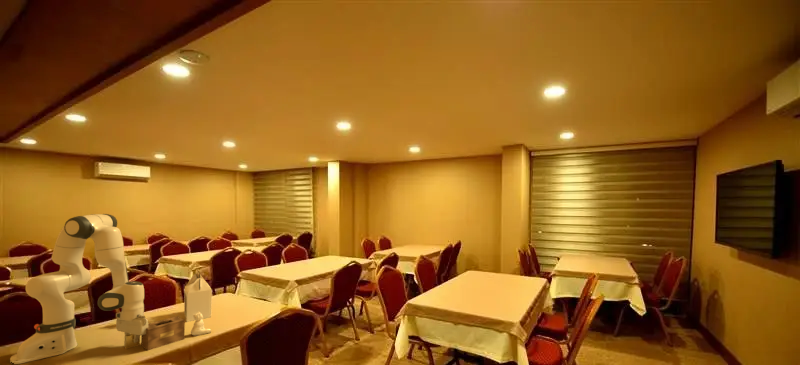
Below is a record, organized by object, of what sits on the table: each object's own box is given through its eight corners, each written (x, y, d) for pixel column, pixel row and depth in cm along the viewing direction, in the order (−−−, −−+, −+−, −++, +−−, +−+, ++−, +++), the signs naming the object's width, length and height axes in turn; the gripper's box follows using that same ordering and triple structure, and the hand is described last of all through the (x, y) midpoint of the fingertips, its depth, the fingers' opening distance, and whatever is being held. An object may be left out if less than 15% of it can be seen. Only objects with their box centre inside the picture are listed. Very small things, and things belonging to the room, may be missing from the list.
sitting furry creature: (212, 332, 183) (212, 310, 184) (196, 338, 176) (196, 315, 176) (203, 329, 188) (203, 308, 189) (186, 334, 180) (187, 312, 181)
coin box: (148, 350, 162) (148, 329, 162) (141, 345, 168) (141, 325, 168) (184, 339, 175) (184, 320, 175) (176, 334, 181) (177, 316, 181)
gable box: (184, 312, 218) (185, 270, 219) (207, 308, 226) (207, 267, 227) (186, 322, 200) (187, 275, 202) (211, 317, 208) (212, 272, 210)
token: (126, 349, 164) (126, 336, 164) (124, 347, 166) (124, 335, 166) (139, 345, 168) (139, 333, 169) (137, 343, 170) (138, 331, 171)
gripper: (152, 314, 167) (151, 341, 166) (127, 309, 175) (126, 336, 174) (139, 318, 161) (138, 347, 160) (113, 313, 169) (112, 341, 168)
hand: (132, 341), depth 167 cm, fingers open, 4 cm apart
